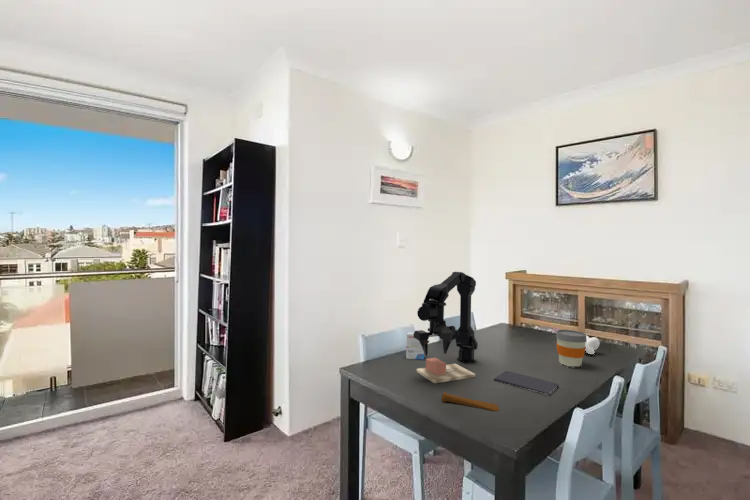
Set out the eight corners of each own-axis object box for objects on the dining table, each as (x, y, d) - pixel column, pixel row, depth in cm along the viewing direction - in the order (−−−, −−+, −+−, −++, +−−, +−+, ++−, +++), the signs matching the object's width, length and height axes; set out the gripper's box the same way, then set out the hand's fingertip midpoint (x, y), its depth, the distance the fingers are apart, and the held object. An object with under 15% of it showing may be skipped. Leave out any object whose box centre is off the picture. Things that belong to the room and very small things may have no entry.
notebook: (493, 381, 152) (549, 397, 137) (493, 378, 151) (549, 393, 137) (506, 374, 161) (559, 387, 147) (506, 370, 161) (559, 383, 147)
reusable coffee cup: (567, 370, 166) (569, 336, 165) (549, 361, 178) (550, 330, 178) (592, 369, 168) (593, 336, 168) (572, 360, 181) (573, 329, 180)
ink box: (423, 356, 181) (424, 332, 181) (424, 359, 176) (424, 334, 176) (406, 355, 182) (406, 331, 182) (406, 358, 177) (406, 334, 177)
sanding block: (434, 369, 160) (435, 357, 160) (445, 375, 153) (446, 363, 153) (425, 370, 158) (426, 358, 158) (436, 376, 151) (437, 364, 151)
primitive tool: (498, 406, 129) (498, 396, 129) (499, 413, 124) (500, 403, 123) (442, 399, 133) (442, 389, 133) (441, 406, 128) (441, 396, 128)
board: (455, 366, 168) (455, 363, 168) (475, 376, 155) (475, 374, 155) (416, 371, 160) (416, 368, 160) (434, 383, 147) (434, 380, 147)
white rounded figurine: (590, 350, 198) (591, 333, 198) (605, 357, 186) (606, 339, 186) (570, 349, 198) (570, 333, 198) (583, 357, 186) (584, 339, 186)
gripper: (427, 322, 144) (426, 363, 144) (467, 319, 151) (466, 358, 151) (413, 317, 154) (412, 354, 154) (451, 314, 161) (450, 350, 162)
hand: (435, 354), depth 155 cm, fingers open, 9 cm apart
